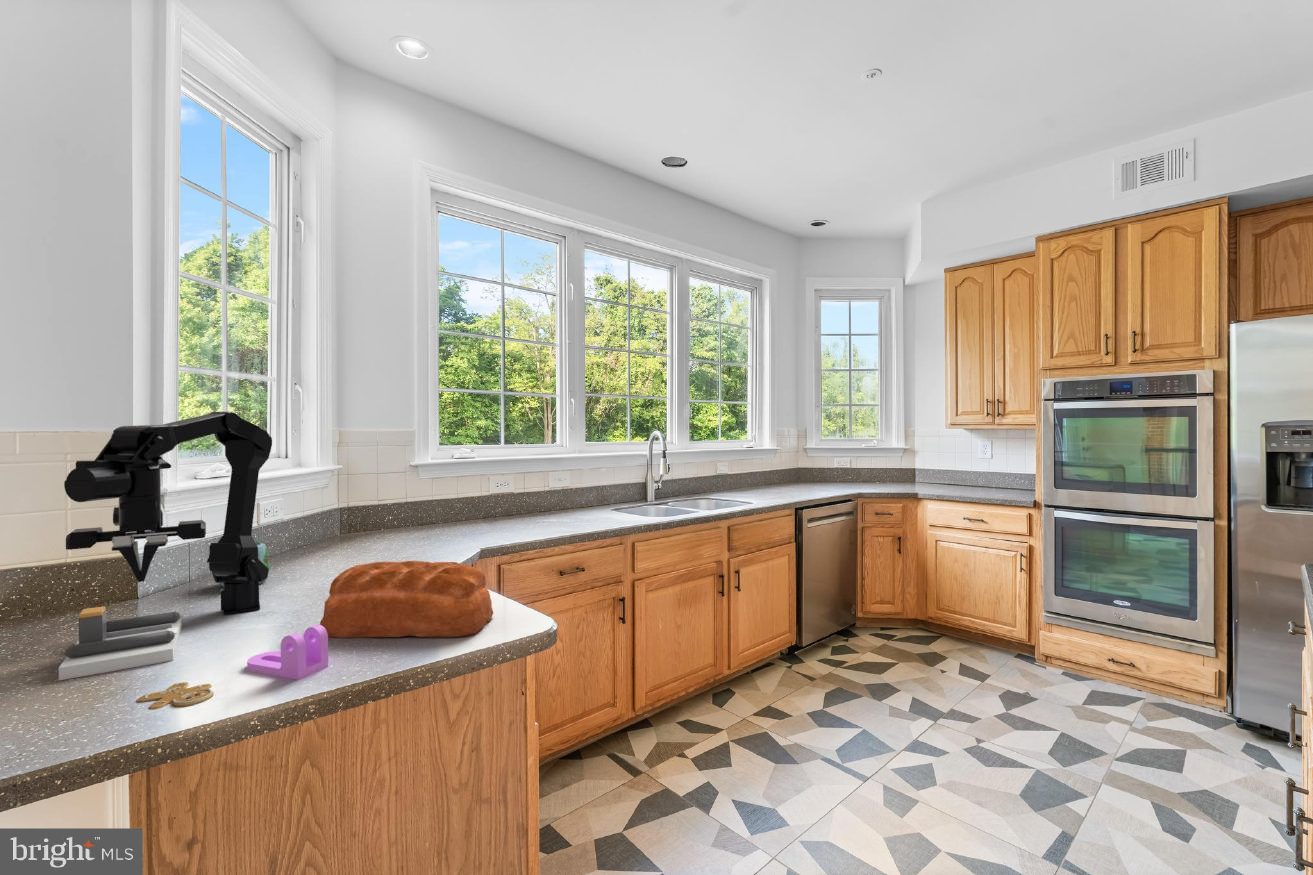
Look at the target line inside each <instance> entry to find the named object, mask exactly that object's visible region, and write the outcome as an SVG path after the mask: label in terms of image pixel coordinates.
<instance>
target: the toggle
mask: <svg viewBox="0 0 1313 875" xmlns="http://www.w3.org/2000/svg"><path fill="white" fill-rule="evenodd" d="M78 616H79V617H78V618H77V619H78V640H79V644H85V643H91V642H97V641H104V640H105V639H106V637H107V624H106V621H107V609H106V606H97V607H90V608H84V609H82V611H81V612H80V613H79V615H78Z"/></svg>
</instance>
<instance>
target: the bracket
mask: <svg viewBox="0 0 1313 875" xmlns="http://www.w3.org/2000/svg"><path fill="white" fill-rule="evenodd" d="M246 664H247V665H246V666H247V667H246V669H247V671H249V672H253V673H257V672H258V673H259V674H264V675H269V676H275V677H281V678H287V679H291V680H297V681H298V680H302V679H304V678H306V677H308V676H310V675H312V674H314V673H317V672H319V671H322V670H324V669H325V668H328V667H329V637H328V634H327V631H326V629H325V628H324V627H323V626H322V625H320V624H314V625H311V626H310V627H308V628H306V629H305V630H304V633H303V634H301V633H299V632H293V633H290V634H288V635H286V636H284V637H283V638H282V639H281V641H280V650H279V651H278V650H276V651H275V650H274V651H268V652H267V651H266V652H262V653H258V654H255V655H253V656H251V657H249V658H248V659H247V661H246Z"/></svg>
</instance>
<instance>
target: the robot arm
mask: <svg viewBox="0 0 1313 875" xmlns="http://www.w3.org/2000/svg"><path fill="white" fill-rule="evenodd" d="M211 435H214V437H215V440H216V441H217V442H218V443H219V444H221V445H223V446H224V455H225V458H226V460H227V463H228V464H229V465H230V467H231V474H230V481H229V489H228V496H227V506H226V514H225V519H224V520H225V521H224V529H223V534H222V536H221V537H220V538H219V539H218V541H217V542H211V543H210V544H209V547H208V548H209V550H208V551H209V554H208V558H207V560H206V563H208V569H209V571H210V572H211V573H212V577H213V579H214V583H216V584H219V583H224V587H223V588H221V589H220V611H223V615H230V614H237V613H244V612H251V611H252V612H253V611H258V610H261V604H260V584H259V582H262V581H263V580H265V579H266V580H267V579H268V578H267V576H268V572H269V573H270V571H269V569H270V568H269V569H268V568H267V567H266V566H265V565H264V564H263V563H262V562H261V561H260V560H259V559H258V547H257V545H256V543H255V542H256V541H255V540H254V538H253V536H252V534H253V533H252V532H253V525H254V522H253V521H254V514H255V506H256V499H257V498H256V497H257V489H258V482H259V472H260V469H261V468H262V467H263V466H264V464H265V463H266V462H267V461H268V459H269V458H270V453H271V450H272V446H273V438H272V436H271V435H270V434H269V433H268V431H267V430H264V429H262V427H259V425H256V424H255V423H252V422H250V421H248V420H245V419H244V418H242V417H240V416H239V415H238V414H237V413H235V412H233V411H211V412H208V413H207V414H202V415H197V416H195V417H189V418H185V419H180V420H177V421H173V422H168V423H164V424H153V425H152V424H151V425H150V424H145V425H143V424H142V425H122V426H118V427H116V428H115V429H114V430H113V433H112V434H111V437H110V439H109V440H108V442H106V444H105V446H104V447H103V448H102V450H101V451H100V452H99V454H98V455H97V456H96V457H95V459H94V460H76V462H75V468H74V469H72V470H71V471H70V472H69V473H68V474H67V476H66V479H65V480H64V481H63V482H64V484H63V486H64V491H65V493H66V495H67V496H68V498H69V499H71V500H72V501H73V502H77V503H85V502H87V503H88V502H95V501H105V500H112V499H117V498H118V506H117V507H116V506H115V507H113V512H112V523H113V525H114V527H117V526H118V530H107V531H103V527H102V526H101V527H89V528H86V527H85V528H76V529H74V530H73V531H71V532H70V533H68V534H67V535H66V537H65V550H67V551H69V550H82V549H90V548H92V547H93V546H95V545H96V544H97V543H107V542H111V544H112V547H111V551H112V552H113V551H114V552H115V551H118V552H119V553H120V554H121V555H122V557H123V558H124V559H125V561H126V563H127V564H128V565H129V567H130V569H131V571H132V573H133V575H134V577H135V578H136V581H137V582H138V583H142V582H145V580H146V577H147V575H148V572H149V570H150V569H149V568H150V566H151V564H152V562H153V558H154V556H155V555H156V552H157V551H158V549H159V548H160V547H165V546H167V544H168V540H169V537H178V538H180V539H182V540H183V541H185V540H195V539H197V540H198V539H205V538H206V535H207V525H206V524H207V523H206V522H205V521H204V520H203V519H198V520H185V521H184V520H183V521H179V523H178V524H177V525H172V526H164V513H163V510H162V507H161V505H162V502H161V501H162V500H161V499H162V498H161V497H162V496H161V495H162V494H161V470H166V469H167V470H168V469H171V468H172V463H171V464H170V463H169V462H168V461H167V460H165V459H164V458H163V457H162V456H163V455H165V454H167V453H169V452H171V451H173V450H174V449H175V447H177V445H180V444H182V443H186V442H190V441H193V440H196V439H201V438H205V437H208V436H211ZM142 539H143V540H144V539H146V543H145V544H144V546H143V552H142V559H141V560H142V561H140V555H139V554H140V553H139V545H138V541H137V540H142ZM266 580H265V581H266Z"/></svg>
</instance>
